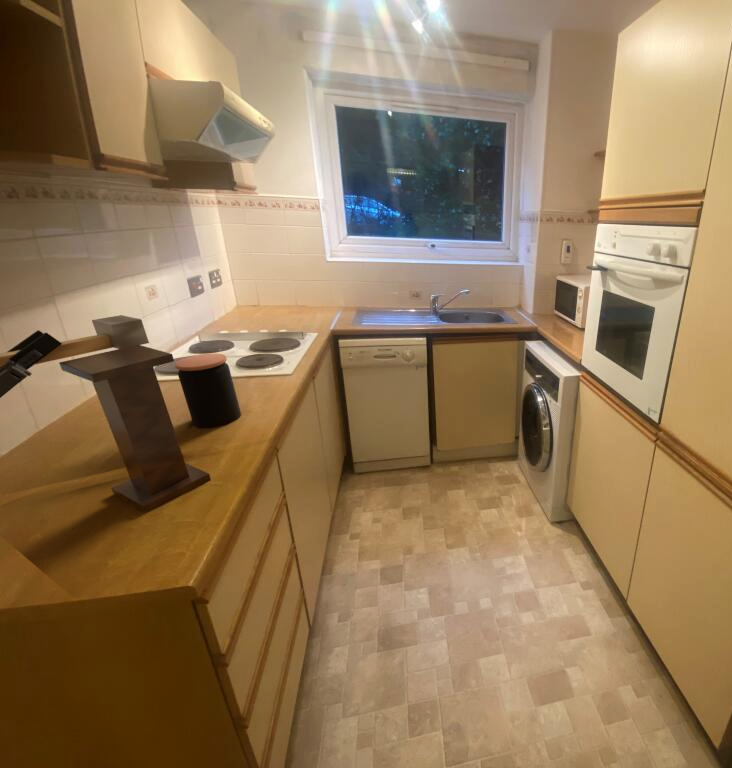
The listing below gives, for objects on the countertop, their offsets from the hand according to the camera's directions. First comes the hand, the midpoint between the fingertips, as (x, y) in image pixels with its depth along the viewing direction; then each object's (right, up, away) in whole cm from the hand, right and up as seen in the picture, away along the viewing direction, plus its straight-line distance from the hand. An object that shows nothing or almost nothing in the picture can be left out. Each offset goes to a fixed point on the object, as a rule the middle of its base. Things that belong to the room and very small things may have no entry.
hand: (49, 337), depth 79 cm
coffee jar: (+7, -19, +36) cm, 41 cm away
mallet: (+1, -3, +3) cm, 5 cm away
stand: (+12, -30, +10) cm, 34 cm away
